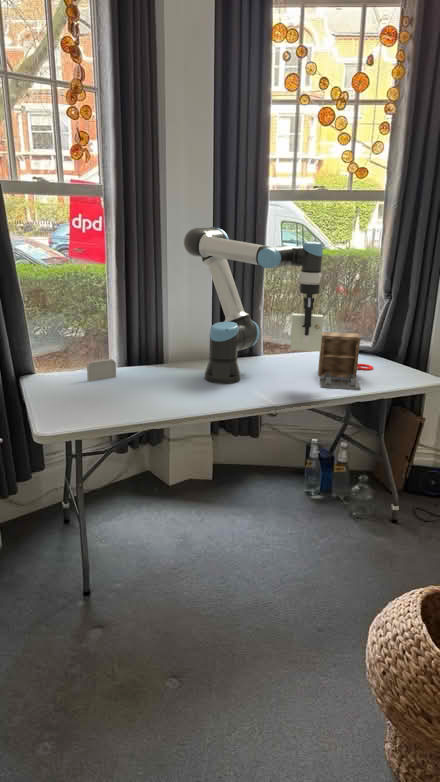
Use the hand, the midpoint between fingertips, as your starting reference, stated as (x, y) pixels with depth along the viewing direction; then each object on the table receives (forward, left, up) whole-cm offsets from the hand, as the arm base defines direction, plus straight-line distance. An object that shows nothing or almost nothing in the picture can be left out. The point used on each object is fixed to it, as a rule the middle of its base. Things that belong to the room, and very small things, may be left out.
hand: (305, 341), depth 229 cm
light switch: (-83, -8, -19) cm, 85 cm away
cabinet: (+15, +21, -19) cm, 32 cm away
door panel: (0, 0, -3) cm, 3 cm away
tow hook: (+29, +35, -19) cm, 49 cm away
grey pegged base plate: (+15, +5, -19) cm, 25 cm away
